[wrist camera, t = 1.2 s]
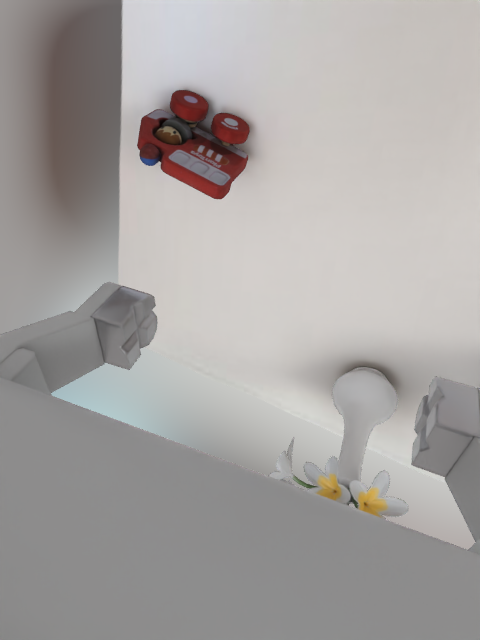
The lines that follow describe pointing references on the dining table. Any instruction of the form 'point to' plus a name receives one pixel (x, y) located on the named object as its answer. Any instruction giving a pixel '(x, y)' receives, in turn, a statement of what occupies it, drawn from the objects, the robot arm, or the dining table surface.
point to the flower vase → (353, 446)
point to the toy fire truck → (194, 144)
